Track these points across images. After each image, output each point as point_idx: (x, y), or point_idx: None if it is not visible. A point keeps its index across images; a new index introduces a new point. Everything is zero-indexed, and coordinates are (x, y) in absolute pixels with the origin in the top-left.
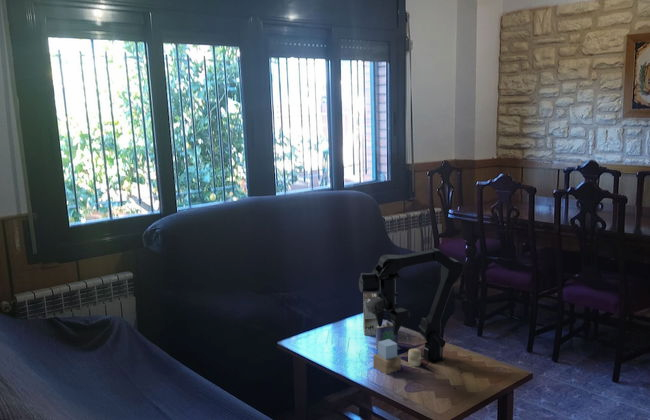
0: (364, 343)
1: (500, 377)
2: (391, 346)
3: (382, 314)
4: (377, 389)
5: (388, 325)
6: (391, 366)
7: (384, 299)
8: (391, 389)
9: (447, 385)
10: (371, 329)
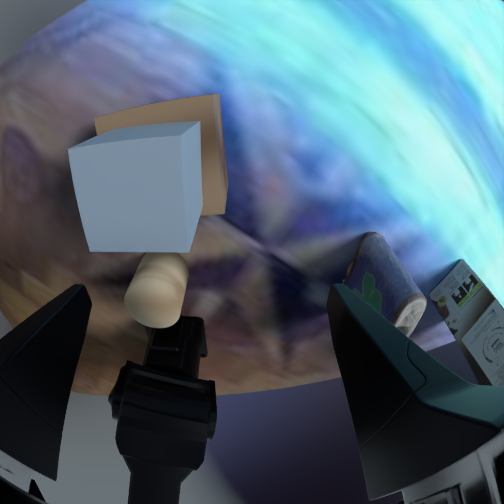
0: (431, 218)
1: None
2: (82, 197)
3: (363, 422)
4: (47, 30)
5: None
6: None
7: None
8: (27, 81)
9: (18, 260)
10: (456, 290)
